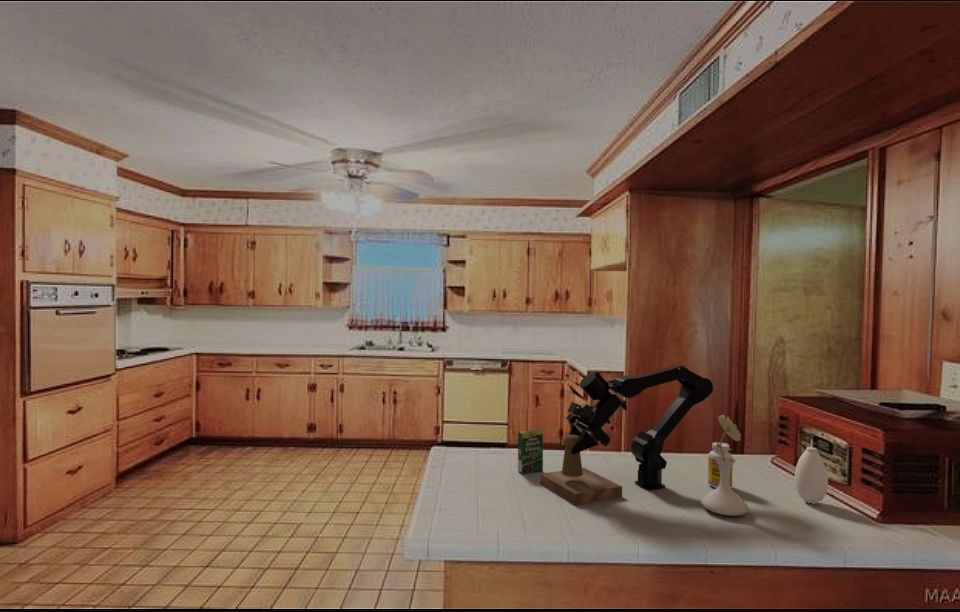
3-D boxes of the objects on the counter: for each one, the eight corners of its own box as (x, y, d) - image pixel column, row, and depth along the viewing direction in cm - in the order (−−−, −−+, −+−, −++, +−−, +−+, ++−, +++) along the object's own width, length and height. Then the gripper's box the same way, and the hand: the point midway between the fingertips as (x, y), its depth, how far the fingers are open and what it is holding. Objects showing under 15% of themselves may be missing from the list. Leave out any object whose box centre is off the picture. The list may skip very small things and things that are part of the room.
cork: (586, 475, 147) (586, 437, 147) (567, 477, 146) (567, 438, 146) (576, 469, 153) (576, 432, 153) (558, 471, 151) (558, 433, 151)
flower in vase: (752, 522, 130) (754, 423, 129) (703, 516, 133) (705, 419, 133) (742, 503, 142) (744, 413, 142) (697, 498, 145) (699, 410, 145)
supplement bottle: (708, 488, 153) (708, 445, 153) (707, 481, 160) (708, 440, 159) (733, 492, 151) (733, 448, 151) (731, 485, 157) (732, 442, 157)
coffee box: (521, 474, 164) (521, 433, 164) (516, 471, 166) (517, 431, 166) (543, 471, 167) (543, 431, 167) (538, 468, 170) (539, 429, 170)
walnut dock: (583, 476, 162) (583, 467, 162) (622, 496, 146) (622, 486, 146) (540, 483, 155) (540, 473, 155) (575, 505, 139) (575, 494, 139)
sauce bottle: (825, 501, 145) (827, 437, 145) (829, 510, 138) (830, 443, 138) (793, 495, 149) (794, 433, 149) (795, 504, 142) (796, 439, 142)
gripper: (572, 387, 159) (538, 424, 157) (600, 398, 141) (562, 440, 139) (595, 411, 161) (562, 448, 159) (626, 425, 143) (589, 467, 141)
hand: (568, 450), depth 149 cm, fingers closed on cork, 5 cm apart
